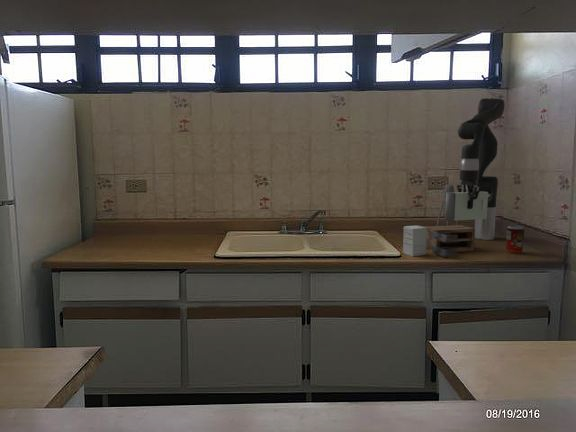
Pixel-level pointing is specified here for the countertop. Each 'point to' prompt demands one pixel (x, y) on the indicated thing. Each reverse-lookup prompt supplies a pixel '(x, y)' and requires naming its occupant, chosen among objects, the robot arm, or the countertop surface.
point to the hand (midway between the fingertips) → (467, 208)
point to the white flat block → (465, 206)
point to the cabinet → (449, 239)
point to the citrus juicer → (447, 189)
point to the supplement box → (414, 240)
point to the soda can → (514, 239)
